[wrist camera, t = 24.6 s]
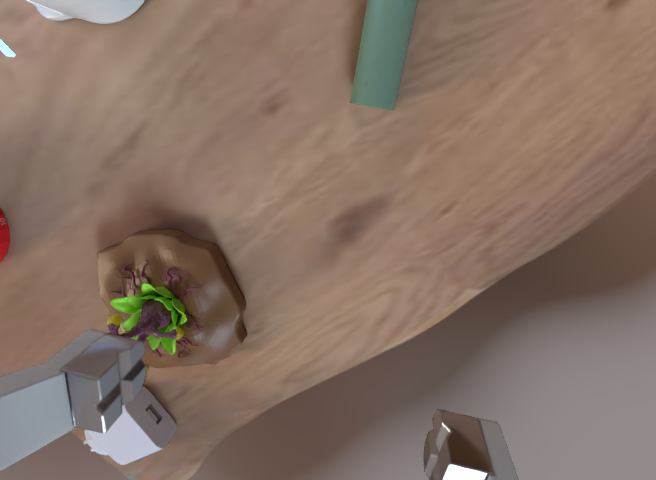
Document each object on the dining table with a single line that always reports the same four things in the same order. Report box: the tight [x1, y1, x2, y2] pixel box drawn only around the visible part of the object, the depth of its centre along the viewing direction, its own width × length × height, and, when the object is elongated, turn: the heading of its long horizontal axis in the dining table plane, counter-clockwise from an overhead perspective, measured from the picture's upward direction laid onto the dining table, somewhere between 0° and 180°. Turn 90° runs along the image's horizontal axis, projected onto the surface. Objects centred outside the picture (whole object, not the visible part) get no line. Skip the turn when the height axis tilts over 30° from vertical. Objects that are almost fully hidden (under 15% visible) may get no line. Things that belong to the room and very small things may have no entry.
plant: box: [97, 229, 247, 371], centre depth 45 cm, size 20×20×11 cm
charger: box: [84, 386, 177, 465], centre depth 58 cm, size 5×9×15 cm
